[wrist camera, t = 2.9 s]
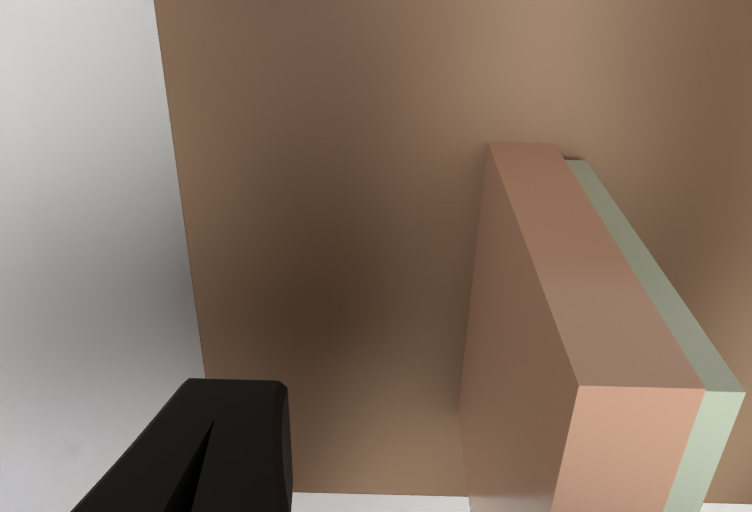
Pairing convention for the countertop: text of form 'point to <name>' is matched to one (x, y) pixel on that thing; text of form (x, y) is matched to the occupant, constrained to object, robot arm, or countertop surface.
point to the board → (438, 195)
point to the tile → (581, 354)
